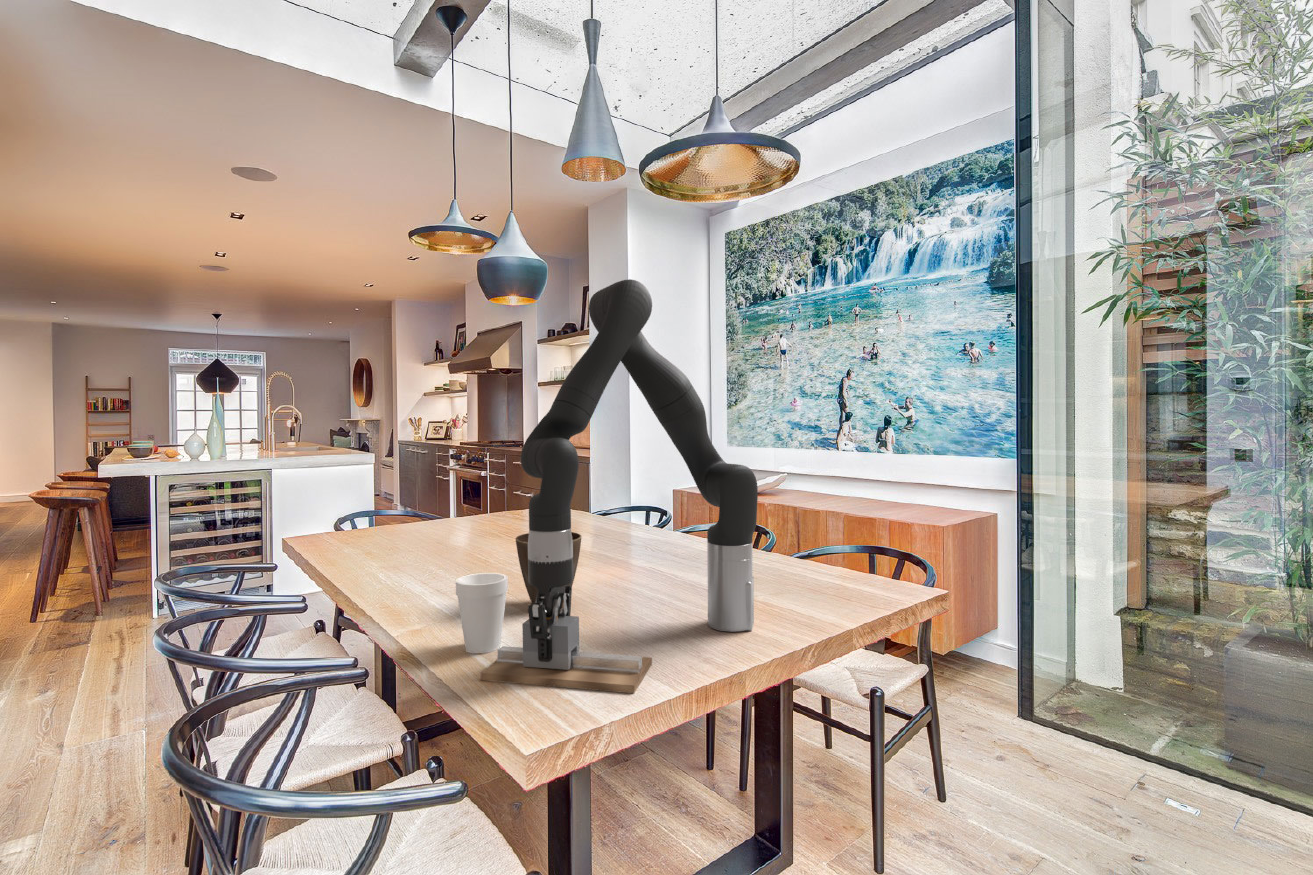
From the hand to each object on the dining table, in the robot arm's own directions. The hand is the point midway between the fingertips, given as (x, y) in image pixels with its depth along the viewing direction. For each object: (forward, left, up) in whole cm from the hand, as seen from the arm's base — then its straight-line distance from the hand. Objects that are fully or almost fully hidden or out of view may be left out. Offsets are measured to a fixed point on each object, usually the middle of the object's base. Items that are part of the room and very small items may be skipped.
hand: (552, 654), depth 110 cm
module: (0, 0, -1) cm, 1 cm away
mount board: (-3, 0, -3) cm, 4 cm away
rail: (-3, 0, -2) cm, 3 cm away
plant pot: (+15, -36, -3) cm, 39 cm away
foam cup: (+17, -8, -3) cm, 19 cm away
